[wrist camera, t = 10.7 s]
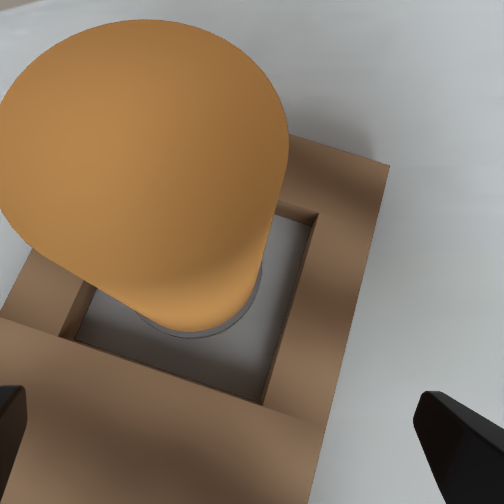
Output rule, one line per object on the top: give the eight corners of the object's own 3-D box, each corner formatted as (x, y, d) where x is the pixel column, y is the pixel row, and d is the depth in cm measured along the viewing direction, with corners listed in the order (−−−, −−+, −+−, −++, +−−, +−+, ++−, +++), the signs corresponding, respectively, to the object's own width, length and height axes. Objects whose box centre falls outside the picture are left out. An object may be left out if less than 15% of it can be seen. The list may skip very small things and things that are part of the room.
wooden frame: (269, 609, 17) (274, 638, 16) (-64, 488, 18) (-99, 502, 16) (377, 182, 24) (389, 165, 22) (127, 103, 24) (118, 81, 22)
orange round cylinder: (235, 358, 20) (242, 339, 7) (119, 319, 21) (-89, 229, 7) (271, 246, 22) (332, 59, 9) (164, 211, 22) (64, -20, 9)
